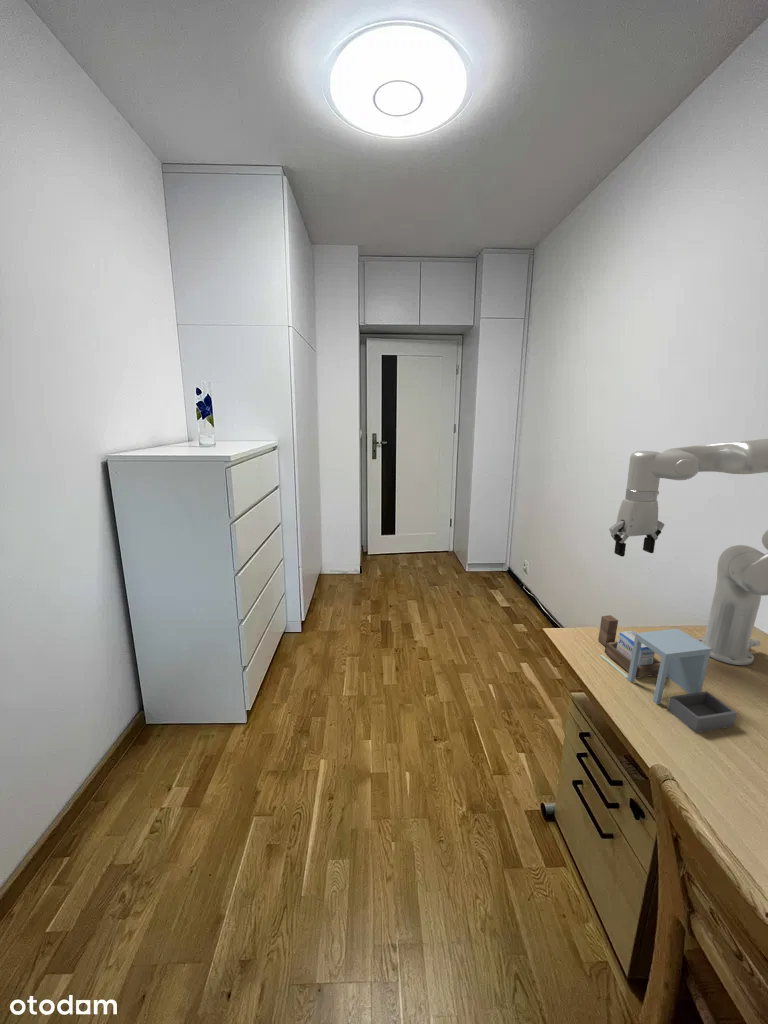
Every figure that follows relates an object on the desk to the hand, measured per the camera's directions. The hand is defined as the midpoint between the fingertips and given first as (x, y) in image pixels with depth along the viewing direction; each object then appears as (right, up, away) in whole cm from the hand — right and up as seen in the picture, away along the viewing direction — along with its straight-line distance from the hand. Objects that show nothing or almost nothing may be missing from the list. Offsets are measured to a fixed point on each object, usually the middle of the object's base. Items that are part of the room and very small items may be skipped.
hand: (633, 553), depth 117 cm
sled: (-6, -28, -5) cm, 29 cm away
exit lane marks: (-5, -29, -7) cm, 31 cm away
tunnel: (-3, -32, -17) cm, 36 cm away
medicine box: (-6, -30, -8) cm, 32 cm away
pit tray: (-1, -34, -26) cm, 43 cm away
